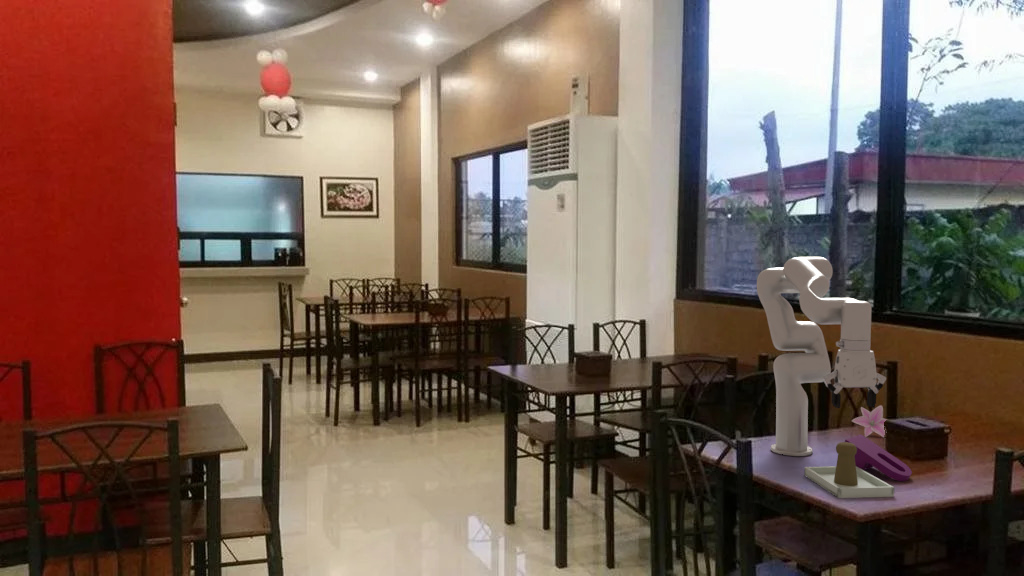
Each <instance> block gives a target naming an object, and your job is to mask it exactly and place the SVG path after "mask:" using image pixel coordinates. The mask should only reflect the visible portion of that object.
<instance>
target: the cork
mask: <svg viewBox="0 0 1024 576" xmlns="http://www.w3.org/2000/svg"><path fill="white" fill-rule="evenodd" d="M835 450H836V451H835V452H836V454H837V459H836V460H837V461H836V464H835V466H836V471H835V477H834V482H835V483H836V484H839V485H844V486H856V485H858V481H857V473H856V465H855V457H854V456H855V454H856V452H857V448H856V446H855V445H854V444H852V443H848V442H845V441H842V442H837V444H836V447H835Z"/></svg>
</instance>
